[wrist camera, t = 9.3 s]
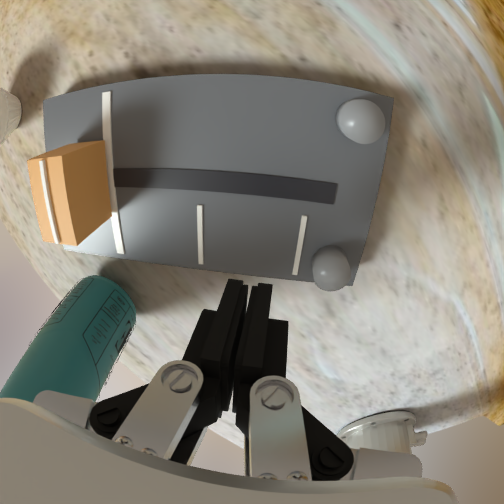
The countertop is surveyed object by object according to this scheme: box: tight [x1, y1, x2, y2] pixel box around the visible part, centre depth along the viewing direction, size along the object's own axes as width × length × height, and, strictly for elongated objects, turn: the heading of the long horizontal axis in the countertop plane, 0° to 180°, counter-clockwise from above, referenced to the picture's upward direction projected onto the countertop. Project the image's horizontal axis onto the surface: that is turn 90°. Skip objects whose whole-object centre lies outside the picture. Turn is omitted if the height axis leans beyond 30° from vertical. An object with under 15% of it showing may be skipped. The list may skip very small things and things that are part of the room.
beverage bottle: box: [0, 275, 136, 403], centre depth 15 cm, size 6×7×20 cm
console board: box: [43, 74, 394, 291], centre depth 15 cm, size 22×12×4 cm, turn 86°
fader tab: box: [27, 140, 112, 246], centre depth 13 cm, size 3×5×4 cm, turn 176°
